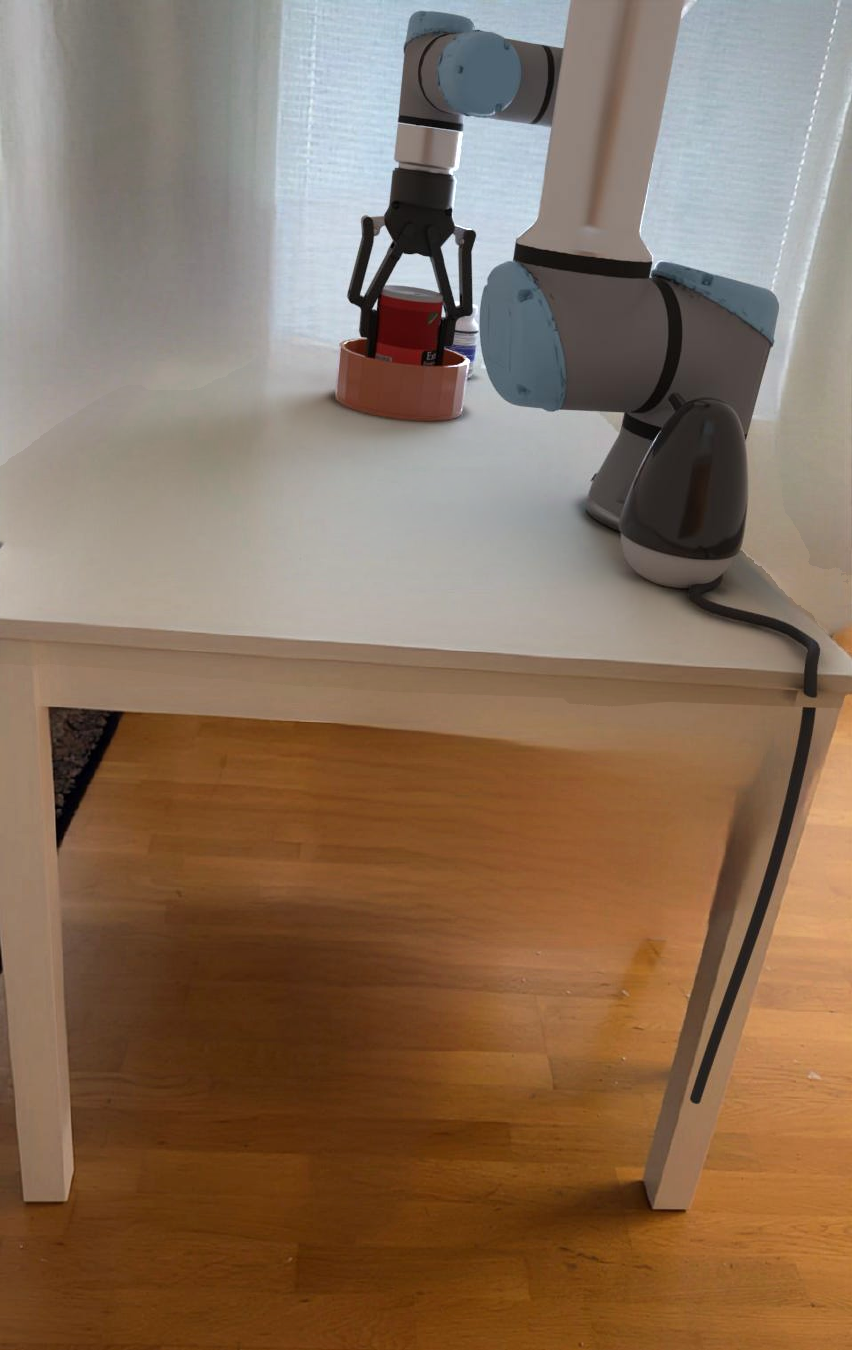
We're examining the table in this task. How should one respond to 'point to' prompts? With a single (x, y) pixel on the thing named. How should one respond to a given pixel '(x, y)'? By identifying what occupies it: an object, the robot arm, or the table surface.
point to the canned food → (408, 325)
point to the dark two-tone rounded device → (688, 496)
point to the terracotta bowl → (400, 385)
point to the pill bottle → (466, 337)
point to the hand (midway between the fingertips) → (402, 368)
